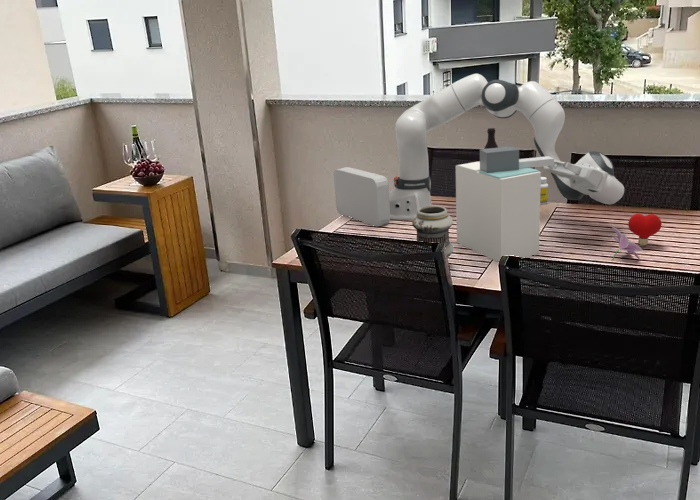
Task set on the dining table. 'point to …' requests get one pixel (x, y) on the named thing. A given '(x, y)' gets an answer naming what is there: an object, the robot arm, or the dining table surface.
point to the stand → (498, 211)
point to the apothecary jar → (434, 226)
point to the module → (509, 160)
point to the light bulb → (644, 226)
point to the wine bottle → (491, 139)
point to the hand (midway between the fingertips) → (554, 162)
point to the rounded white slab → (362, 196)
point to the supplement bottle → (544, 191)
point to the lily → (626, 244)
